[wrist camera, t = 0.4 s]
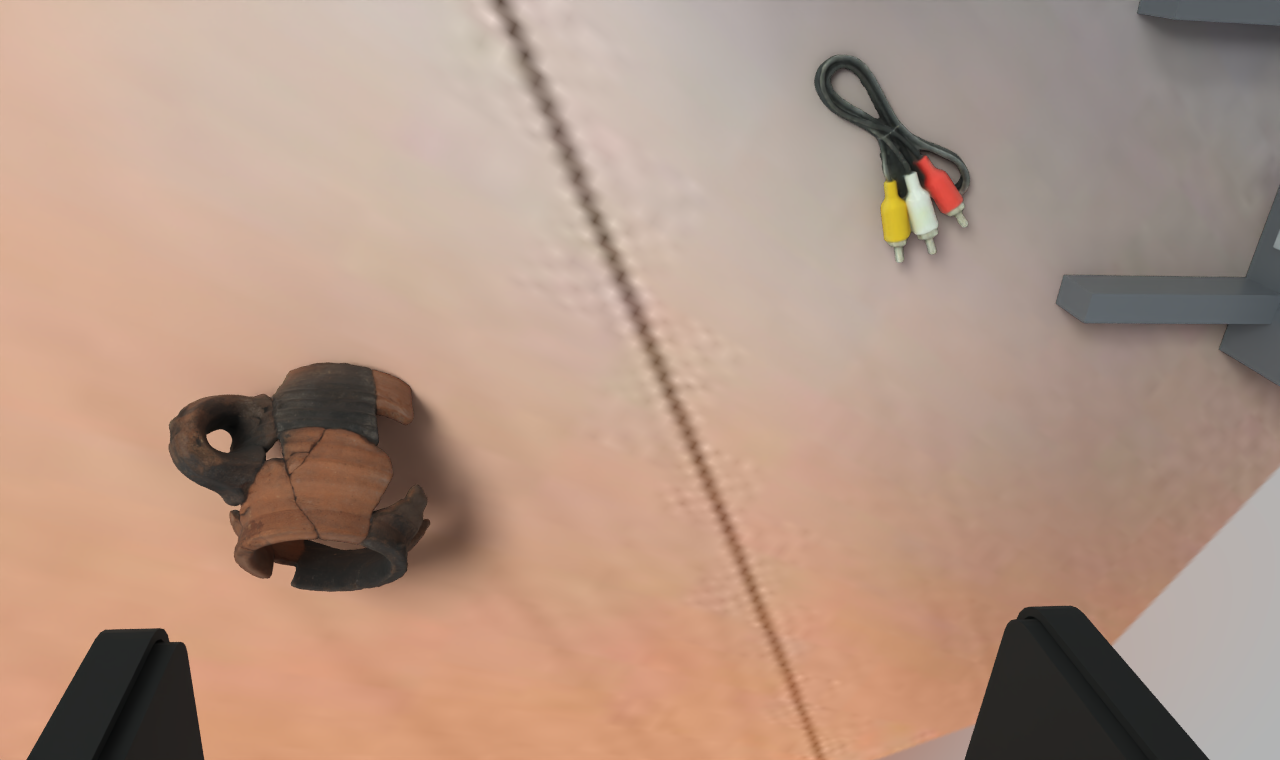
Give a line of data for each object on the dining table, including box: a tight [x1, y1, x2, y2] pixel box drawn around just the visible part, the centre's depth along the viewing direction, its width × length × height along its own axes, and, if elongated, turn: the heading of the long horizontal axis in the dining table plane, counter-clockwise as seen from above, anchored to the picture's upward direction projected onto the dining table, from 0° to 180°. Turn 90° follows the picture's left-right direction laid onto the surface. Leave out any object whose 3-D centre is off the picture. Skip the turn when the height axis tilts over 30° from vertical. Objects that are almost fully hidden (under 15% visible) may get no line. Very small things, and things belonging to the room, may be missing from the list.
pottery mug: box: [169, 363, 430, 592], centre depth 42 cm, size 12×10×8 cm
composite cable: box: [814, 55, 970, 263], centre depth 41 cm, size 10×5×2 cm, turn 30°
